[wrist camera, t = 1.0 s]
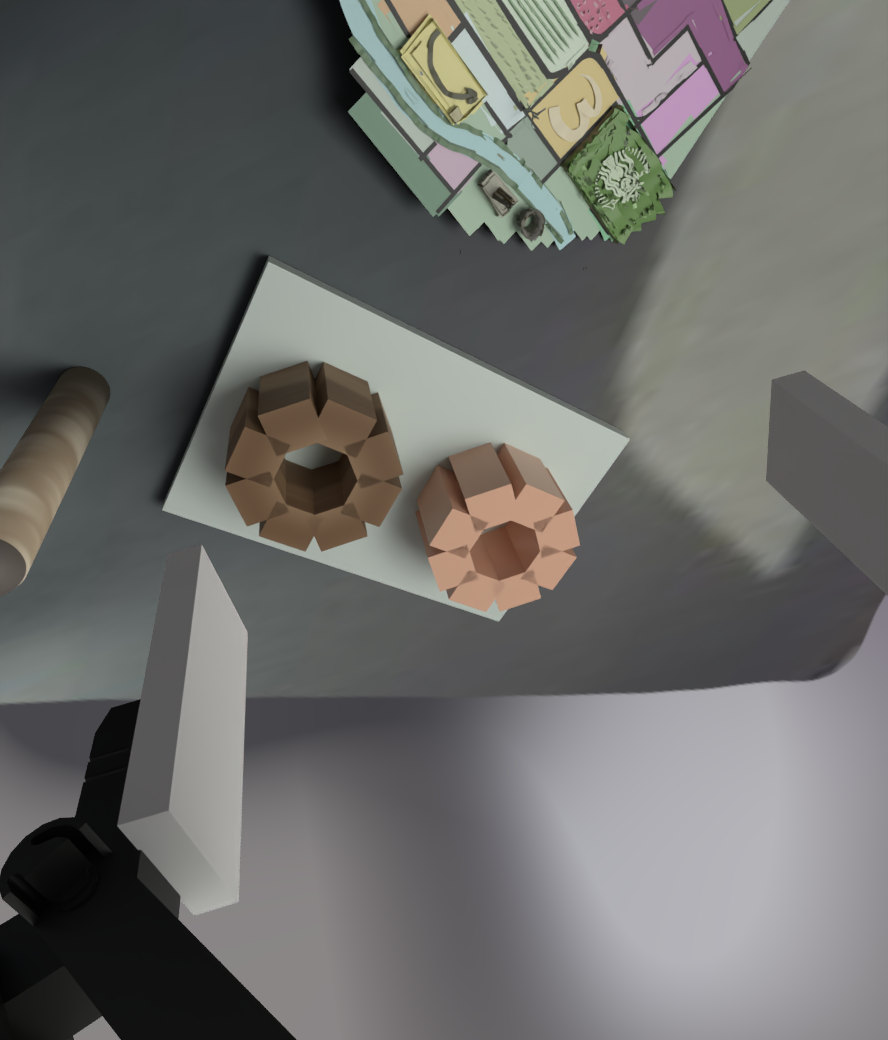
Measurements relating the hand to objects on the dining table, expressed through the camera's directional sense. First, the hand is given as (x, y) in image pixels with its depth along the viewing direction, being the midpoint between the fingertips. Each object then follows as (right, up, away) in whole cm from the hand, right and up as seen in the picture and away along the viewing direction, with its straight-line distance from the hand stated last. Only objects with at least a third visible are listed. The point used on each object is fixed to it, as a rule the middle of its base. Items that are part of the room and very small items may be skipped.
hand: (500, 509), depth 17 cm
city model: (+5, +24, +18) cm, 31 cm away
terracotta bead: (+1, +1, +31) cm, 31 cm away
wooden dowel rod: (-21, +7, +24) cm, 32 cm away
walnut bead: (-9, +5, +26) cm, 28 cm away
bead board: (-4, +3, +30) cm, 30 cm away
